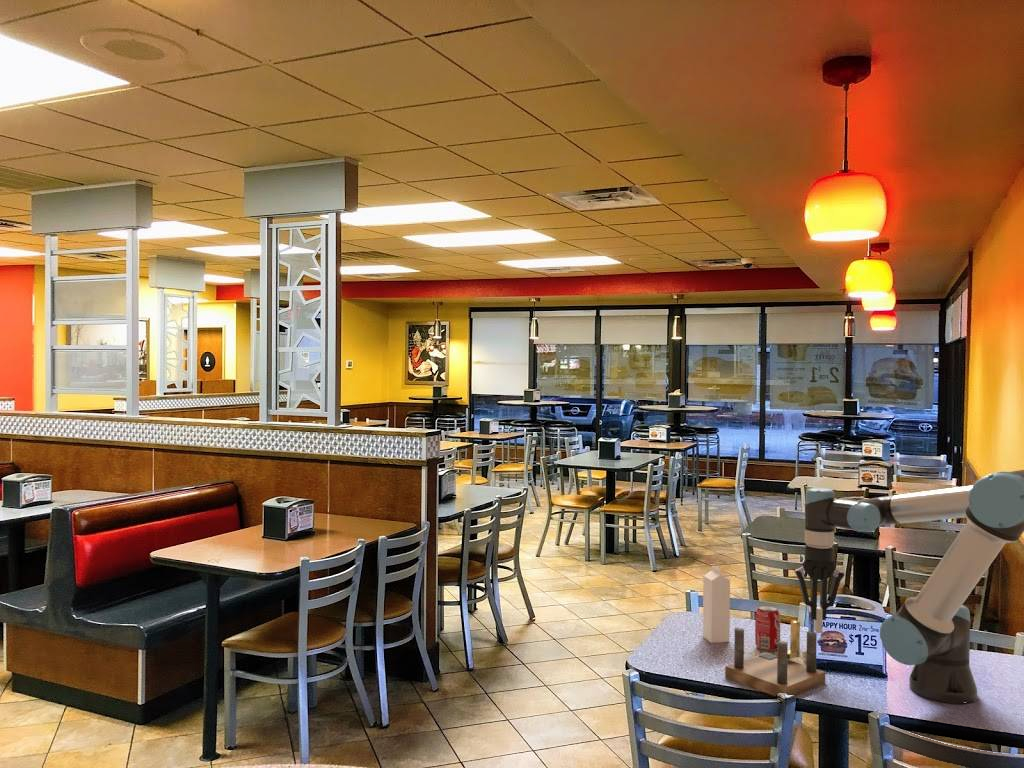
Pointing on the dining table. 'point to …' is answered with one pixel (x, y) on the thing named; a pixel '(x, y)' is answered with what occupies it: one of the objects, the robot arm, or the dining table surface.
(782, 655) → the stool seat
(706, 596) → the milk
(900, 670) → the dining table surface
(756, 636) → the soda can
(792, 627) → the hinged leg
